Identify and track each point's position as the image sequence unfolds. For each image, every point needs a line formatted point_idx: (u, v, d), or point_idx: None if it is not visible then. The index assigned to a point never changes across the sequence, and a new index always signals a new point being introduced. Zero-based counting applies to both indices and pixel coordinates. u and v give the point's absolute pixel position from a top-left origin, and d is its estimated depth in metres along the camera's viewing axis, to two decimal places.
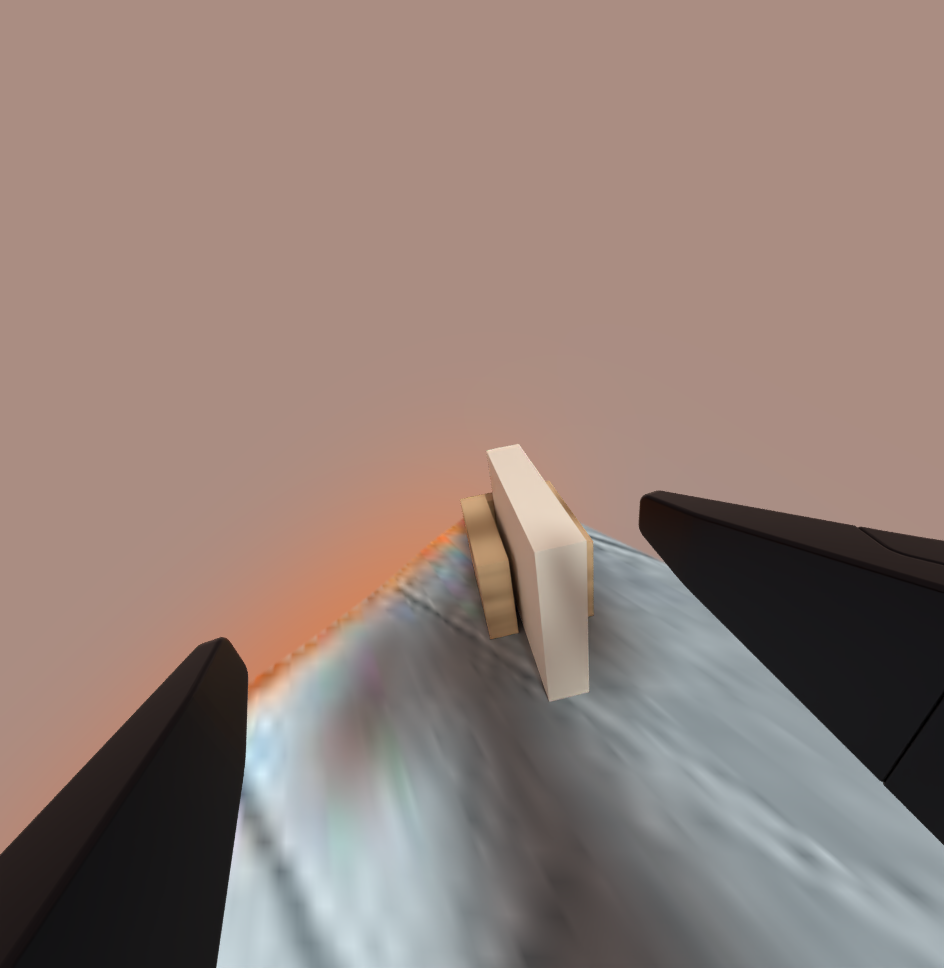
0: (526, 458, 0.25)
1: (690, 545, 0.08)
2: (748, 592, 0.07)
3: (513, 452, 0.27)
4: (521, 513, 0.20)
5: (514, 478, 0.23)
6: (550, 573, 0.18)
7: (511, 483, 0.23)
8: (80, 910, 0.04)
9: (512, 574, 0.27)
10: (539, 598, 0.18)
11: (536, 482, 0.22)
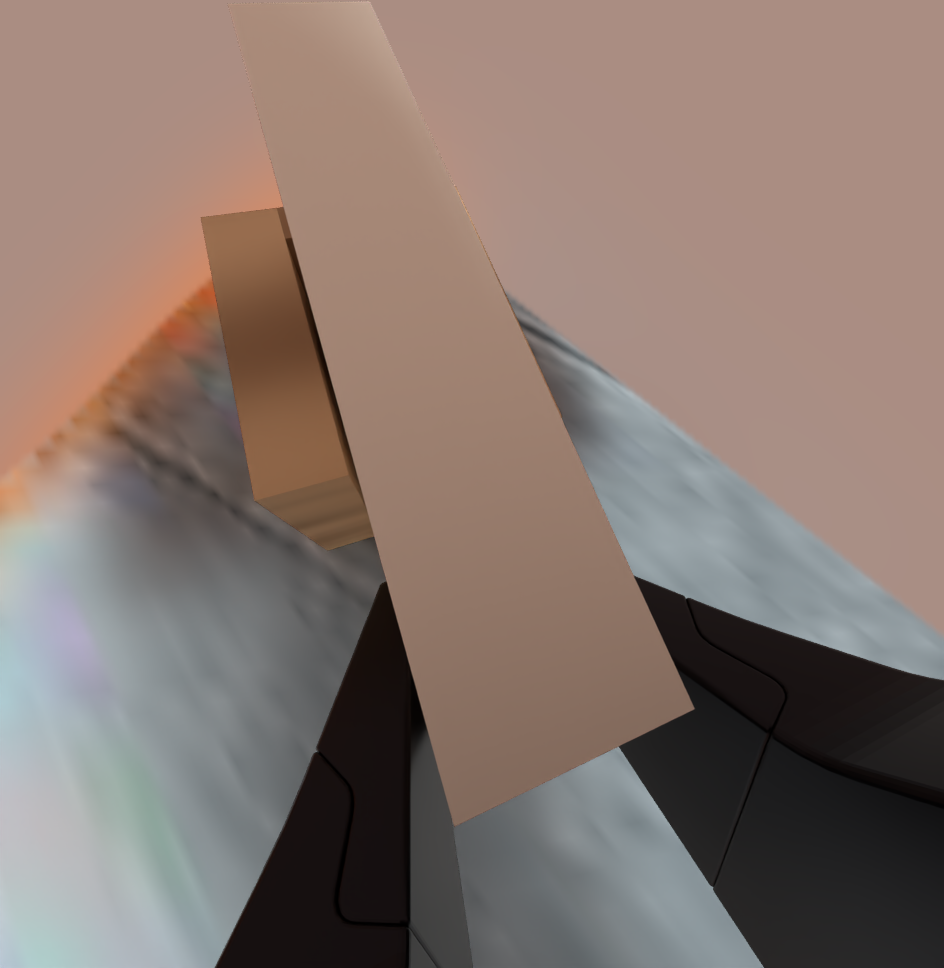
0: (402, 91, 0.06)
1: None
2: None
3: (347, 44, 0.06)
4: (382, 466, 0.04)
5: (350, 205, 0.05)
6: None
7: (335, 237, 0.05)
8: None
9: None
10: None
11: (446, 249, 0.05)
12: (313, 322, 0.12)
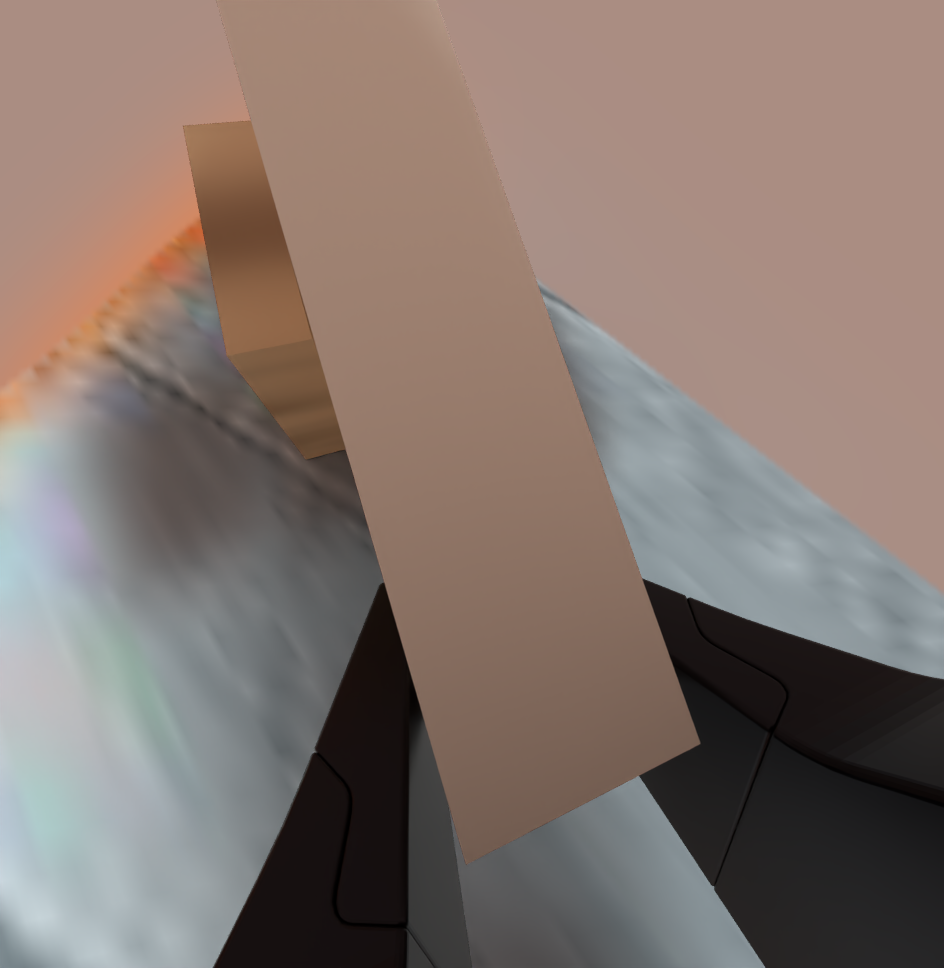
0: None
1: None
2: None
3: None
4: (389, 488, 0.04)
5: (340, 128, 0.04)
6: None
7: (323, 175, 0.04)
8: None
9: None
10: None
11: (463, 201, 0.04)
12: None
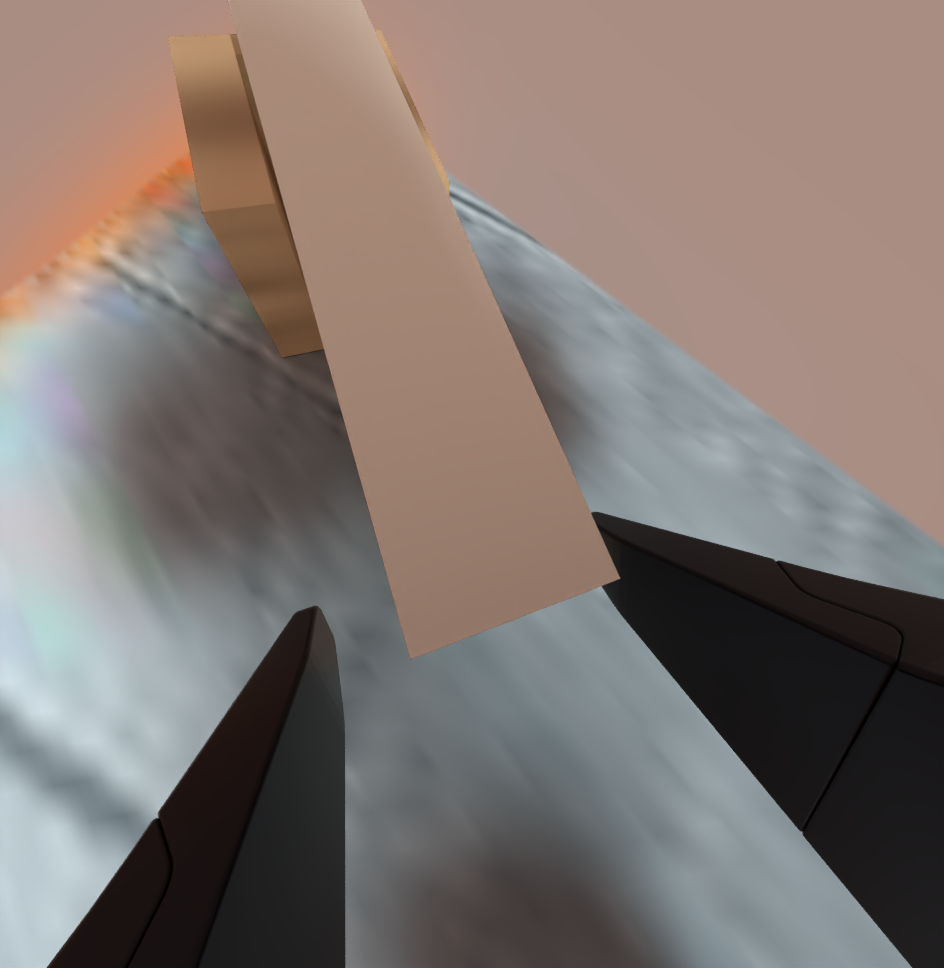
0: (382, 66, 0.07)
1: (620, 572, 0.07)
2: (672, 624, 0.07)
3: (333, 23, 0.07)
4: (356, 381, 0.05)
5: (332, 164, 0.06)
6: None
7: (319, 191, 0.06)
8: (258, 832, 0.04)
9: None
10: None
11: (418, 203, 0.06)
12: (263, 142, 0.15)
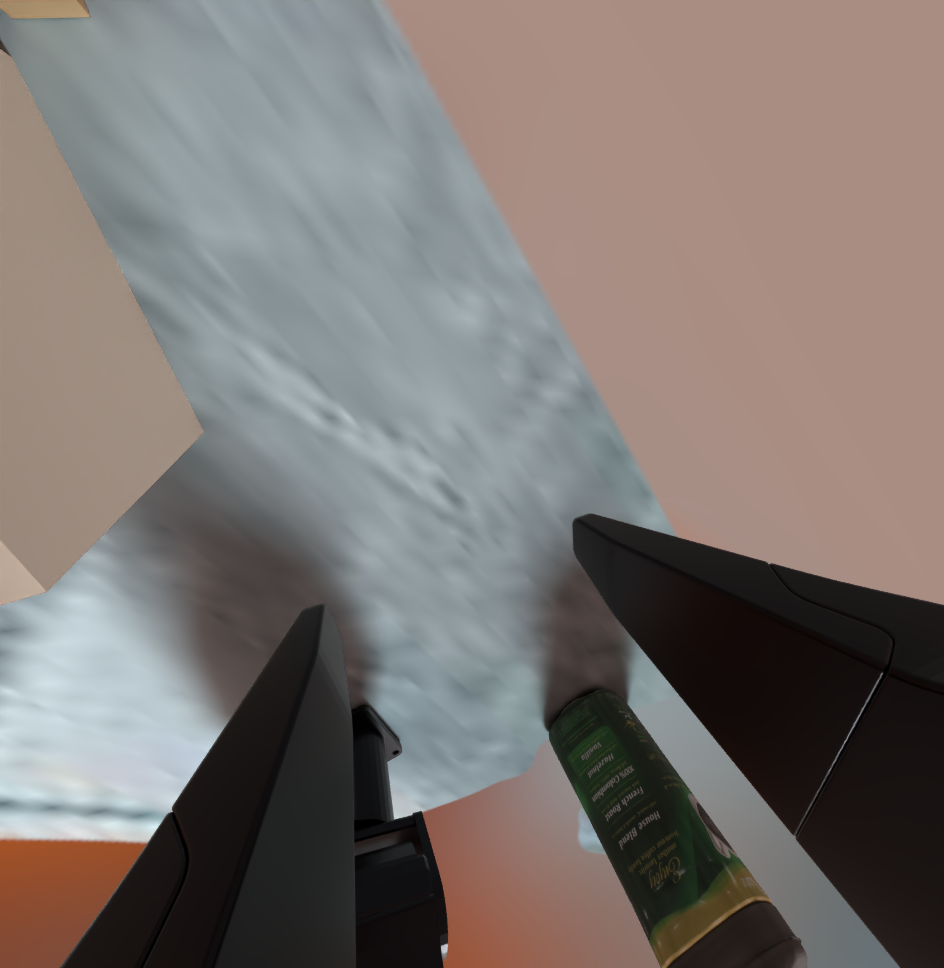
0: None
1: (614, 574, 0.07)
2: (666, 627, 0.06)
3: None
4: None
5: None
6: None
7: None
8: (272, 825, 0.04)
9: None
10: None
11: None
12: None
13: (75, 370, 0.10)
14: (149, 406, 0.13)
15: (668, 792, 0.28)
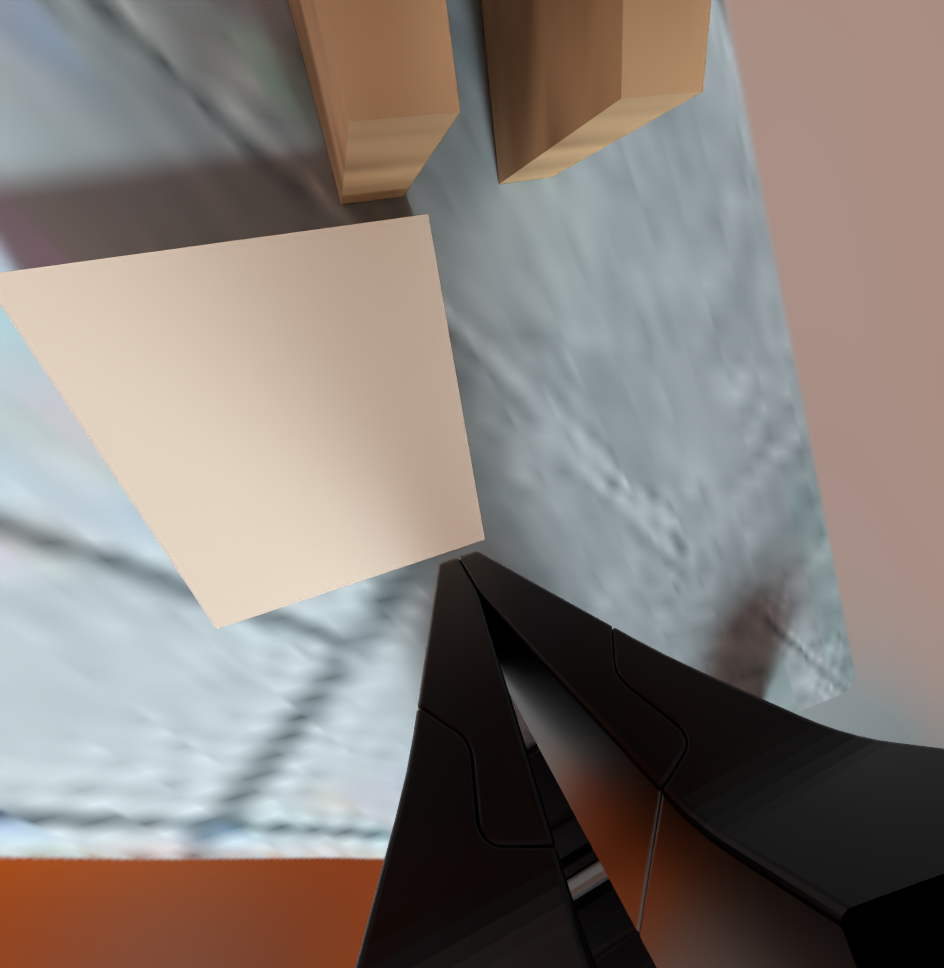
0: (57, 383, 0.10)
1: None
2: (524, 688, 0.06)
3: None
4: None
5: None
6: None
7: None
8: None
9: None
10: None
11: (133, 486, 0.12)
12: None
13: (317, 510, 0.14)
14: (400, 525, 0.15)
15: None
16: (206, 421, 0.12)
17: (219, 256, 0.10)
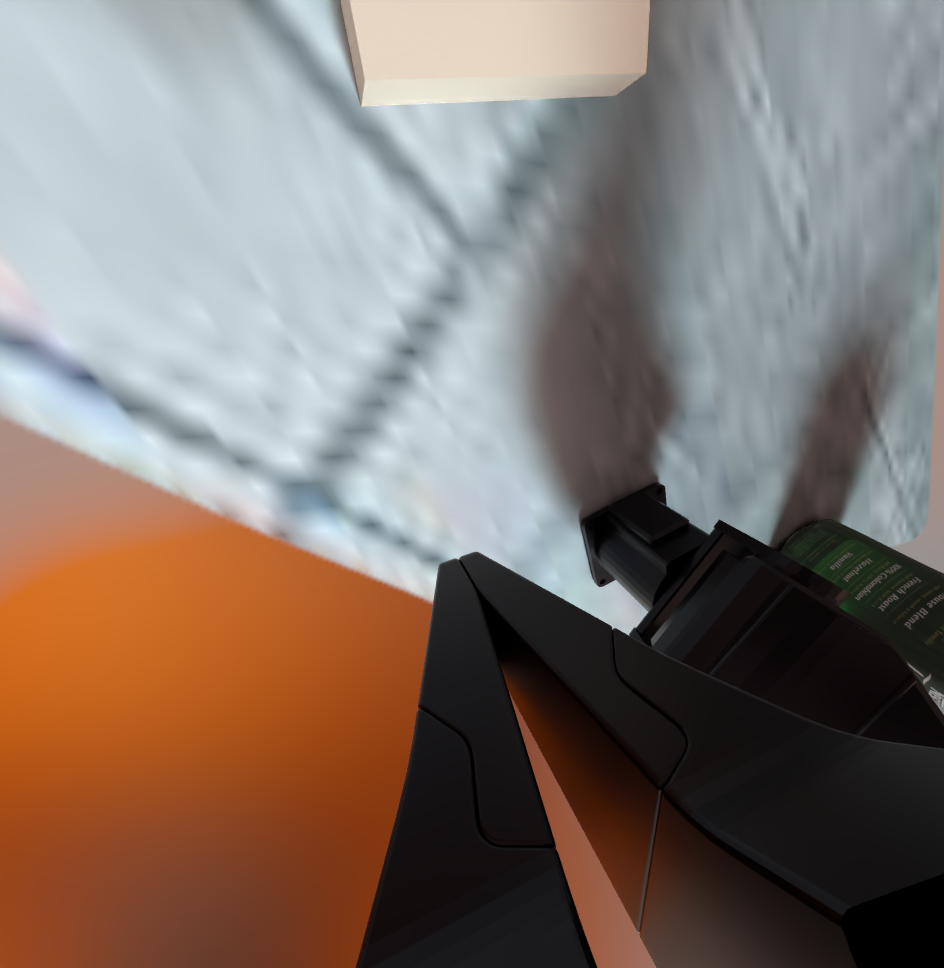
0: None
1: None
2: (524, 688, 0.06)
3: None
4: None
5: None
6: (398, 102, 0.14)
7: None
8: None
9: None
10: None
11: None
12: None
13: None
14: None
15: None
16: None
17: None
